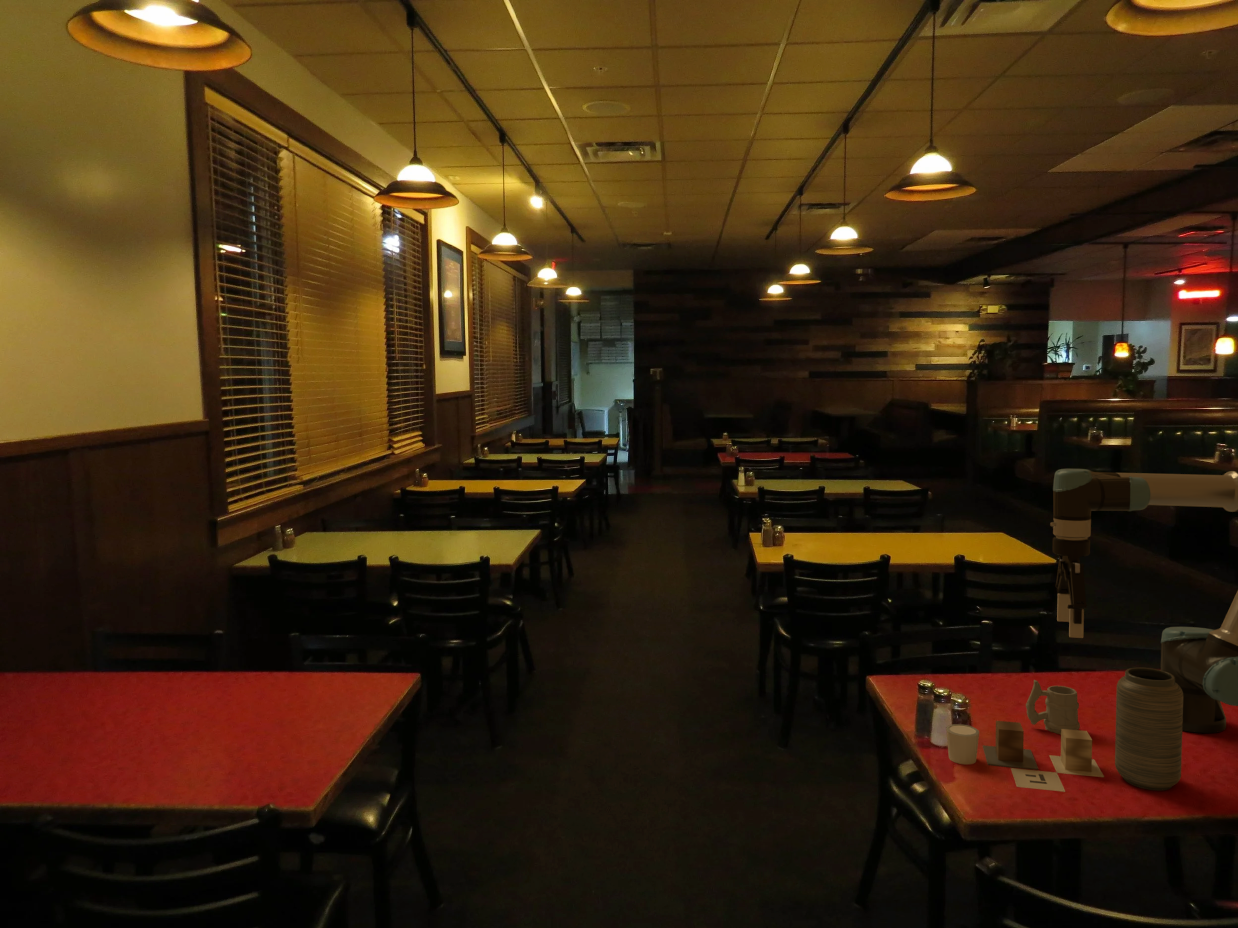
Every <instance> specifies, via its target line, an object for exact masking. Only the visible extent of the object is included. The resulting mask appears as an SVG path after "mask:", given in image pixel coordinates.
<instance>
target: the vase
mask: <svg viewBox="0 0 1238 928" xmlns="http://www.w3.org/2000/svg"><path fill="white" fill-rule="evenodd" d="M1115 696H1116V701H1115V742H1114V744H1115V745H1114V748H1115V749H1114V751H1115V753H1114V766H1115V769H1116V771H1117V772H1118V774H1119V775H1120V776H1121V777H1122V779H1123V780H1124V781H1125V782H1126V783H1128V784H1129V785H1131V786H1134V787H1136V788H1140V789H1144V790H1149V791H1159V792H1160V791H1161V792H1162V791H1167V790H1170V789H1172V788H1173V787H1174V786H1175V785H1177V784H1178V783H1179V781H1180V780H1181V778H1182V758H1183V757H1182V755H1183V753H1182V750H1183V730H1182V724H1183V691H1182V689H1181V688H1180V686H1179V685H1178V684H1177V683H1175V677H1174V676H1173V675H1172V674H1170V673H1168V672H1165V671H1162V670H1161V669H1156V668H1152V667H1130V668H1127V669H1126V670H1125V672H1124V676H1122V677H1120V679H1119V680H1118V681H1117V684H1116V695H1115Z"/></svg>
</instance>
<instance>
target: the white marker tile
mask: <svg viewBox="0 0 1238 928" xmlns="http://www.w3.org/2000/svg"><path fill="white" fill-rule="evenodd" d="M1010 770H1011V774H1012V776H1013V779H1014V782H1015V786H1016V788H1022V789H1023V788H1024V789H1025V788H1026V789H1035V790H1036V789H1037V790H1044V791H1055V792H1063V793H1065V792H1066V790H1065V788H1064V785H1063V783H1062V780H1061V777H1059V775H1058V774H1059V773H1057V772H1056V771H1054V772H1053V771H1044V770H1043V771H1042V770H1033V769H1023V768H1013V767H1010Z"/></svg>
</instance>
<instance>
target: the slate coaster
mask: <svg viewBox="0 0 1238 928" xmlns="http://www.w3.org/2000/svg"><path fill="white" fill-rule="evenodd" d="M982 749H983V753H984V756H985V760H986V764H987V766H995V767H1004V768H1015V769H1025V770H1035V771H1039V766H1038V764H1037V762H1036V760H1035V757H1034V755H1033V752H1032V750H1031V749H1029V748H1028V749H1026V748H1023V762H1014V761H1003V760H998V757H997V754H996V751H995V750H996V745H994V746H993V745H984V744H983V745H982Z"/></svg>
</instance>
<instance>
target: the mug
mask: <svg viewBox="0 0 1238 928" xmlns="http://www.w3.org/2000/svg"><path fill="white" fill-rule="evenodd" d="M1041 696H1042V697H1043V696H1044V697H1045V696H1046V698H1045V700H1044V701H1045V702H1044V703H1045V706H1046V708H1045V711H1040V712H1037V710H1036V702H1037V701H1038V700H1039V698H1040V697H1041ZM1079 707H1080V705H1079V702H1078V692H1077V690H1076V689H1074V688H1073V687H1068V686H1065V685H1052V686H1049V687H1048V688H1047V690H1046V689H1045V690H1042V686H1041V684H1040V683H1039V681H1038V680H1036V679H1033V685H1032V688H1031V692H1030V695H1029V696H1028V699H1027V701H1026V703H1025V708H1026V715H1027V718H1028V720H1029V721H1030V723H1031V724H1032V726H1033V725H1034V726H1035V725H1037V724H1038V722H1040V721H1042V720H1043V724H1044V727H1045V730H1046V731H1049V732H1050V733H1055V734H1057V735H1061V729H1069V730H1080V728H1081V724H1080V721H1079V710H1078V709H1080V708H1079Z"/></svg>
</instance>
